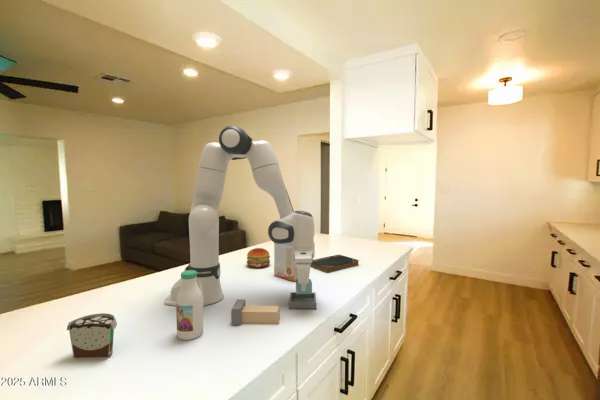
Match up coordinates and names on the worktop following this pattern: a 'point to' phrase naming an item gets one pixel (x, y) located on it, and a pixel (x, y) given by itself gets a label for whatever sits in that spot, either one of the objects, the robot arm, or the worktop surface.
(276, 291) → the worktop surface
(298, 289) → the stub
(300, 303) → the tray
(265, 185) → the robot arm
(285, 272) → the cracker box
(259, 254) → the burger
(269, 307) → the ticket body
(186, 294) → the milk bottle
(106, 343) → the food container
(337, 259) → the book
